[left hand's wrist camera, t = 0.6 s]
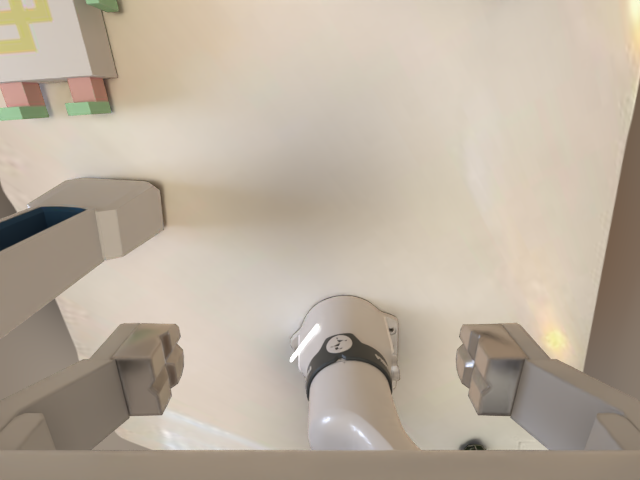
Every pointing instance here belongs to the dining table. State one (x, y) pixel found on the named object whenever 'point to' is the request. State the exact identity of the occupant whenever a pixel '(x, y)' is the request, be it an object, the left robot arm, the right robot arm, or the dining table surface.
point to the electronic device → (70, 239)
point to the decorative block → (54, 55)
